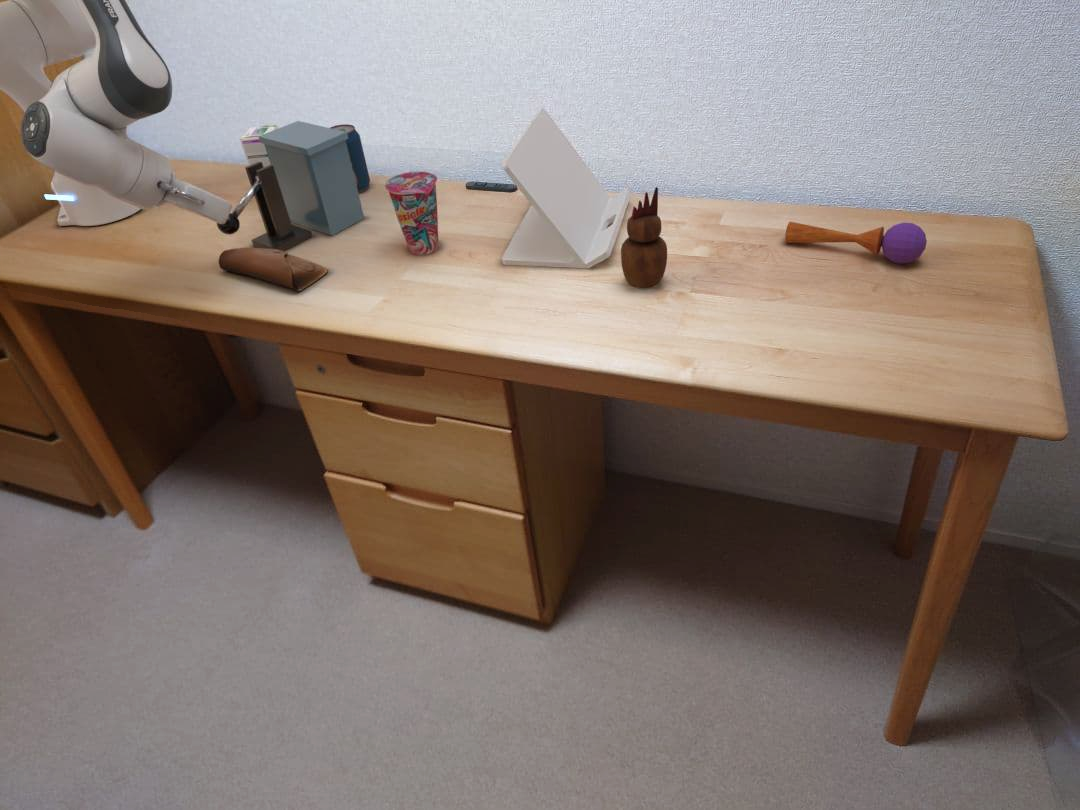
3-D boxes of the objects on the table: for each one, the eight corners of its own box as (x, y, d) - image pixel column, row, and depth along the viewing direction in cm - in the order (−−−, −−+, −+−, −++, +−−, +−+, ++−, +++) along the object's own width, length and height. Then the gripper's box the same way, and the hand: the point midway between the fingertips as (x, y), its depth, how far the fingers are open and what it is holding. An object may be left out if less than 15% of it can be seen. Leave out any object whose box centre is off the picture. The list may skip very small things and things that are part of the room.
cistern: (331, 237, 138) (306, 148, 128) (284, 221, 145) (258, 136, 135) (367, 218, 143) (346, 131, 133) (321, 203, 150) (298, 120, 140)
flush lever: (235, 240, 129) (220, 227, 126) (223, 236, 131) (208, 223, 128) (279, 182, 131) (265, 167, 128) (266, 178, 133) (252, 164, 130)
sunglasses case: (331, 267, 127) (308, 245, 121) (312, 303, 126) (287, 283, 120) (257, 249, 135) (231, 227, 129) (237, 283, 134) (211, 262, 128)
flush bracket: (276, 255, 134) (251, 178, 125) (253, 246, 138) (227, 171, 129) (312, 236, 139) (290, 161, 130) (289, 228, 142) (266, 154, 133)
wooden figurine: (665, 273, 118) (668, 180, 108) (666, 292, 113) (669, 197, 104) (621, 274, 119) (620, 182, 109) (621, 293, 114) (619, 199, 105)
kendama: (795, 209, 122) (932, 220, 113) (791, 245, 125) (925, 259, 115) (784, 217, 118) (926, 229, 108) (781, 255, 121) (918, 270, 111)
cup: (389, 255, 130) (374, 188, 123) (418, 233, 136) (405, 168, 128) (434, 264, 126) (421, 195, 119) (461, 241, 132) (451, 174, 125)
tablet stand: (501, 264, 124) (488, 163, 114) (536, 199, 143) (528, 107, 132) (610, 269, 120) (608, 164, 110) (632, 201, 139) (632, 106, 128)
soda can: (360, 179, 158) (347, 120, 151) (377, 187, 154) (364, 128, 146) (331, 189, 155) (315, 130, 148) (347, 198, 151) (332, 138, 143)
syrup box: (292, 208, 149) (269, 134, 140) (262, 210, 150) (238, 137, 141) (299, 196, 154) (278, 124, 145) (271, 198, 154) (248, 126, 145)
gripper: (187, 171, 110) (264, 209, 121) (118, 147, 120) (195, 184, 132) (171, 211, 110) (249, 246, 122) (103, 184, 120) (181, 218, 132)
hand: (220, 213), depth 127 cm, fingers closed
